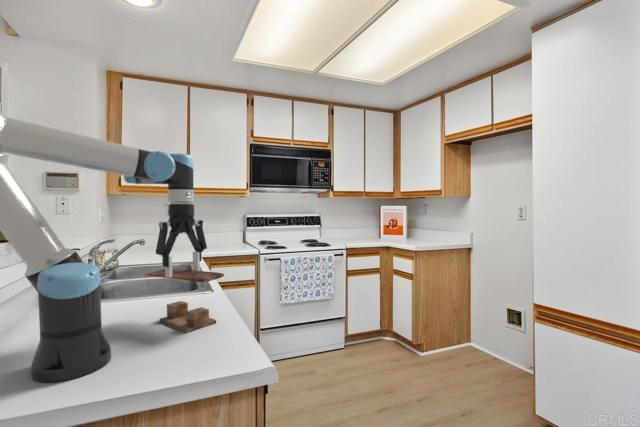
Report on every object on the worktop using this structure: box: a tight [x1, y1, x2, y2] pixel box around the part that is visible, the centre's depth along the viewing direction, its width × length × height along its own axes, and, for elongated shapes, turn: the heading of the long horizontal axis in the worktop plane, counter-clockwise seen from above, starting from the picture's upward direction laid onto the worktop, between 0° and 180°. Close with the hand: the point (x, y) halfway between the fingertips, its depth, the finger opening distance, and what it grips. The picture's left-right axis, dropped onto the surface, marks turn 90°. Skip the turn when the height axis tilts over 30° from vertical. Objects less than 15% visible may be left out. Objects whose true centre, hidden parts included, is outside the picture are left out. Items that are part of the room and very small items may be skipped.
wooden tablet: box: [145, 268, 225, 283], centre depth 108 cm, size 26×2×10 cm
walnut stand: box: [159, 300, 217, 334], centre depth 108 cm, size 10×16×5 cm, turn 52°
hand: (183, 274), depth 108 cm, fingers closed on wooden tablet, 9 cm apart
